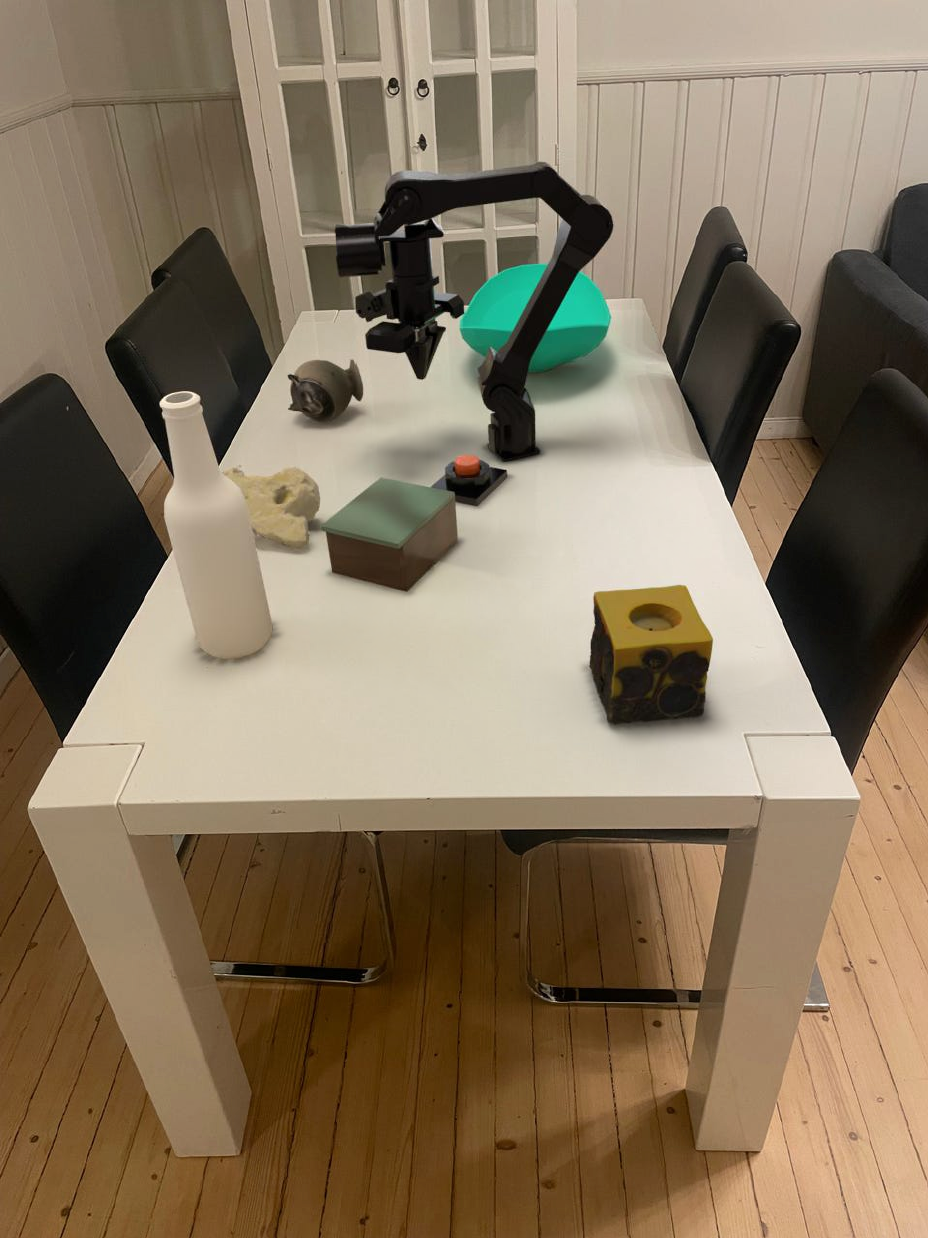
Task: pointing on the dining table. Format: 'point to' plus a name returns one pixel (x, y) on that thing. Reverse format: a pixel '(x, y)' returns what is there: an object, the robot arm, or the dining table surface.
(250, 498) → the animal skull
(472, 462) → the button
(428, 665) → the dining table surface
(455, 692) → the dining table surface
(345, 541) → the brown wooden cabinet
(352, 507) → the sage green panel
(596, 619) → the candle
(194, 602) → the alcohol
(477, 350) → the table top decor
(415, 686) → the dining table surface
